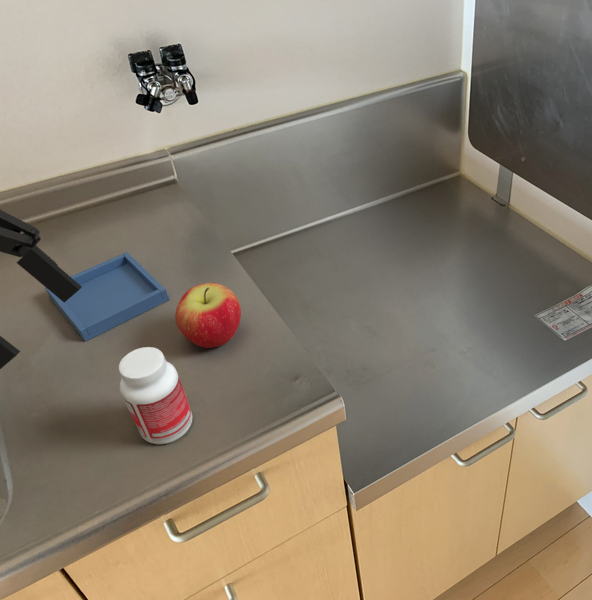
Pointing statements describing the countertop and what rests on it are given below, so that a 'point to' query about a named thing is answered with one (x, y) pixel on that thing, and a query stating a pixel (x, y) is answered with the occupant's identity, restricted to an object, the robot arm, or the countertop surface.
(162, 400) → the pill bottle
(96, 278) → the medicine tray
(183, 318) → the apple
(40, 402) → the countertop surface
